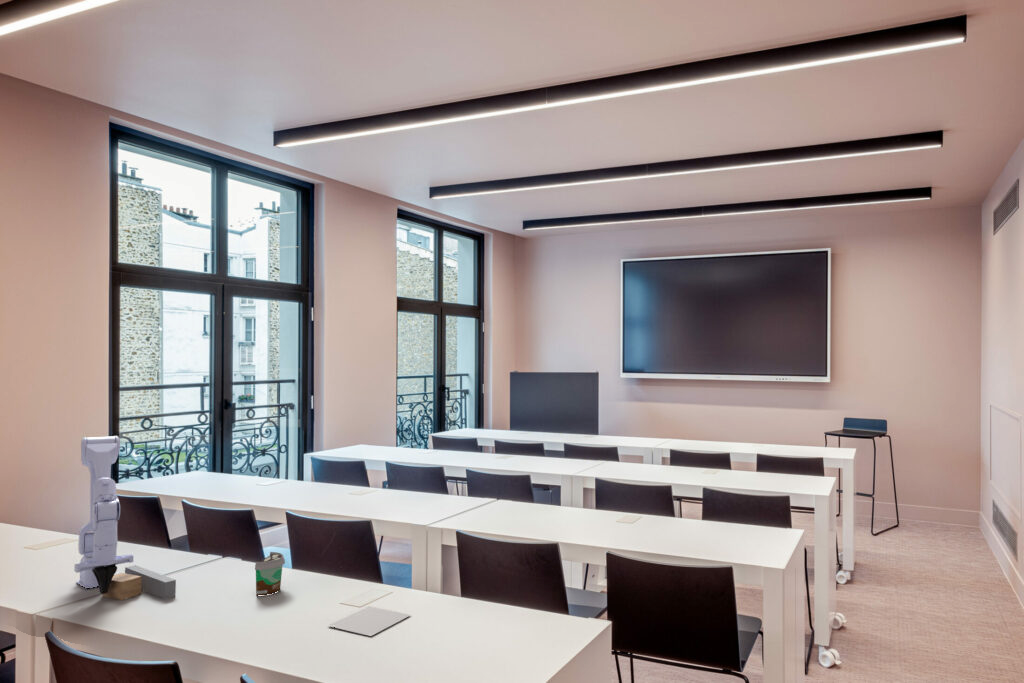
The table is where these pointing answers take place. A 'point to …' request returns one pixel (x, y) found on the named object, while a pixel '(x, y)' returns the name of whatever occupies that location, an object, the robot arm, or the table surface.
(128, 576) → the tan block
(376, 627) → the grey flat panel
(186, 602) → the table surface
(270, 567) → the food container
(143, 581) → the gray rectangular bar
